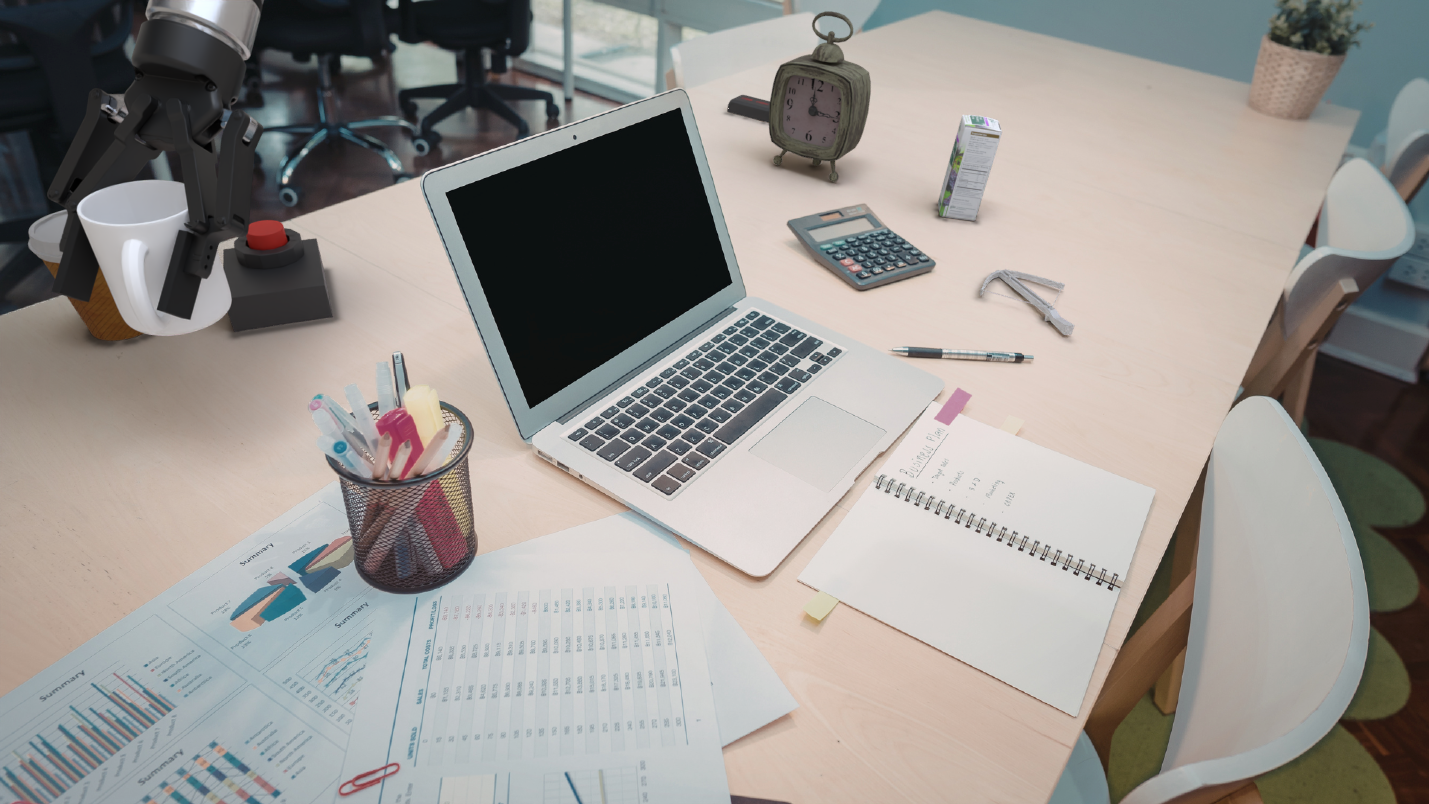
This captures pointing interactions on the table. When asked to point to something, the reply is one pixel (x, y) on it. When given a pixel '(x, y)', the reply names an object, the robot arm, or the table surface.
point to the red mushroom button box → (276, 283)
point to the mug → (147, 254)
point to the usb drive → (750, 107)
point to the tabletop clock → (819, 102)
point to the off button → (266, 235)
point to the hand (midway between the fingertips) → (121, 305)
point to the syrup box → (969, 167)
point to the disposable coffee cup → (101, 307)
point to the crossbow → (1033, 295)
